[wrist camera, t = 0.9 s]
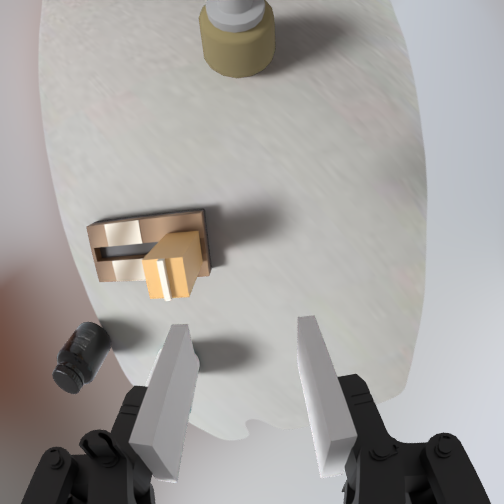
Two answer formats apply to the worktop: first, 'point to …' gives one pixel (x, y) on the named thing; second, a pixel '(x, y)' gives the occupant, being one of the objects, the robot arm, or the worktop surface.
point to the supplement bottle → (81, 357)
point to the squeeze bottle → (237, 36)
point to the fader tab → (173, 265)
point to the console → (140, 242)
